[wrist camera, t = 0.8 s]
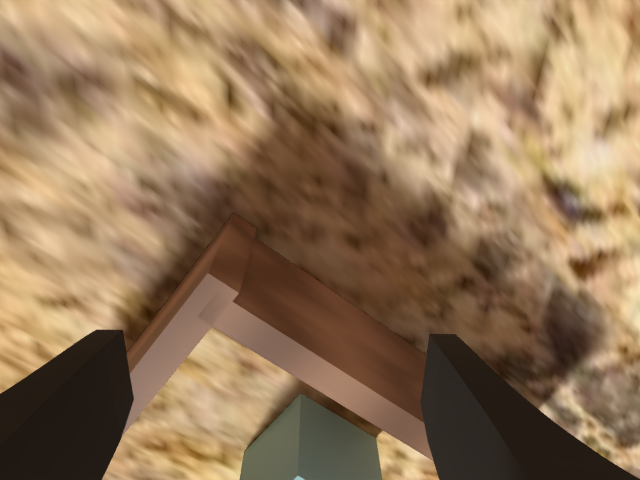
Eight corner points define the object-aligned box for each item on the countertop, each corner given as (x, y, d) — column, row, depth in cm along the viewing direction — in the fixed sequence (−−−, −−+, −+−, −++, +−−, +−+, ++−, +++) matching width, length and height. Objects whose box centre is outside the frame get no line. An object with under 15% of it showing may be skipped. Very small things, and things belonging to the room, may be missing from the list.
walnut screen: (531, 417, 25) (585, 515, 20) (328, 583, 31) (331, 693, 26) (233, 212, 21) (207, 272, 16) (53, 450, 26) (-10, 553, 21)
